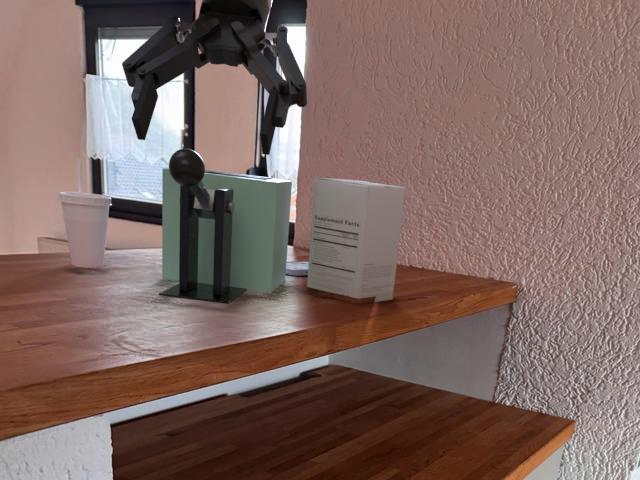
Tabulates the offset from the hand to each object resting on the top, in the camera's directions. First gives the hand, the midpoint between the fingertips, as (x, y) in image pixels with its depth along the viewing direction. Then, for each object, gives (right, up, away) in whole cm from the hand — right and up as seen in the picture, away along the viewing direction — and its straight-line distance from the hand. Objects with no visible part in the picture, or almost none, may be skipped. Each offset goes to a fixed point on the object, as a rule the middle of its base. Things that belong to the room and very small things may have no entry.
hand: (201, 137), depth 78 cm
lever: (-1, -7, +1) cm, 7 cm away
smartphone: (+8, -3, +41) cm, 42 cm away
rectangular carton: (+15, -11, +24) cm, 30 cm away
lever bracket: (-2, -15, +10) cm, 18 cm away
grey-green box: (-1, -11, +20) cm, 23 cm away
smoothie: (-19, -9, +19) cm, 28 cm away
